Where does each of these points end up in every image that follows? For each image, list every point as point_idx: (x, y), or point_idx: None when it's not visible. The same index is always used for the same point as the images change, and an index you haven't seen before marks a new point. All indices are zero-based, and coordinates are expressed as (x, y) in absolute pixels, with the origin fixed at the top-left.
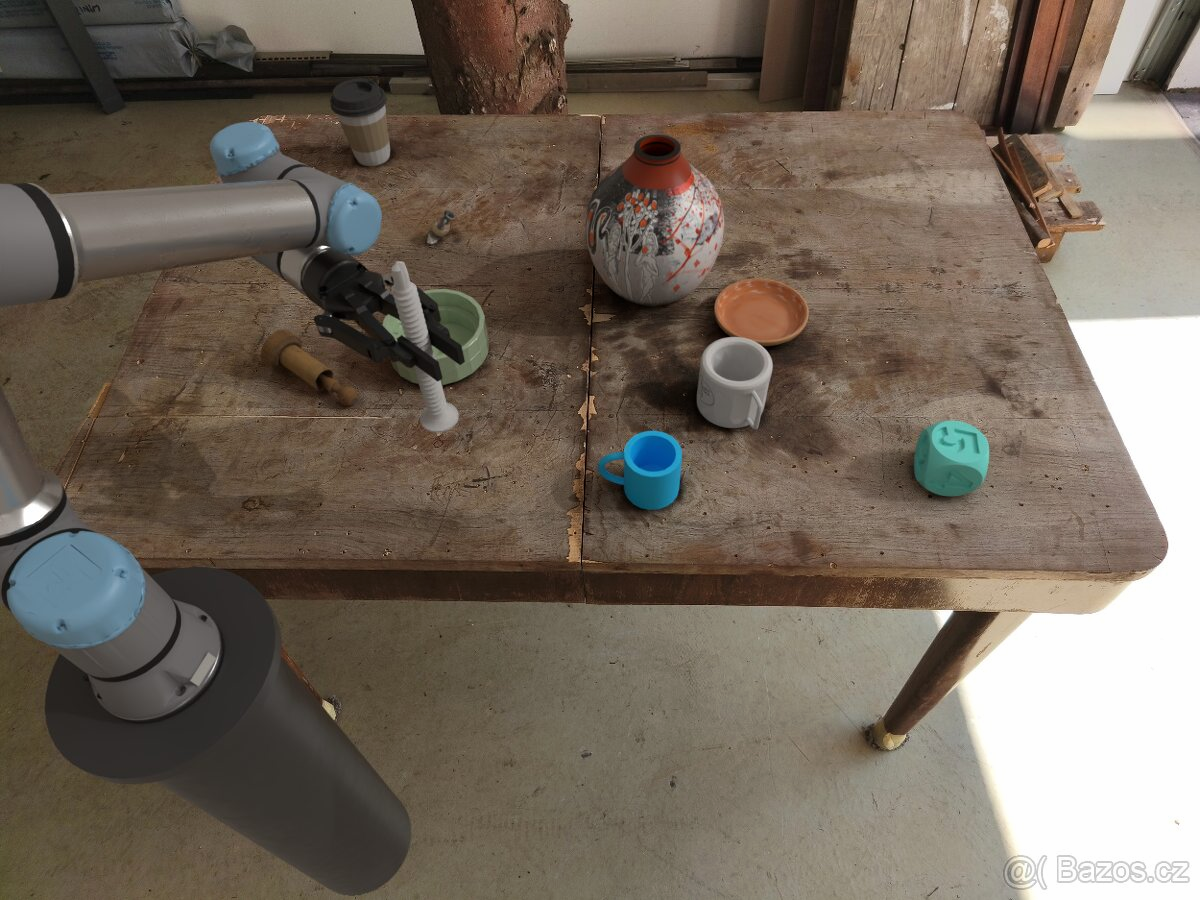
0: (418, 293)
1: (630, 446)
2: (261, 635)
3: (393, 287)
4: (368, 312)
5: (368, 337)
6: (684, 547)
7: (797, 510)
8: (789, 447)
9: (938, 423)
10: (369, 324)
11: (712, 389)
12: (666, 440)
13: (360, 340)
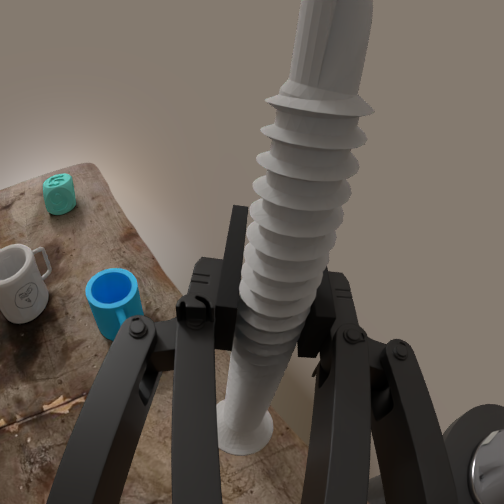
0: (104, 408)
1: (110, 304)
2: (448, 456)
3: (361, 102)
4: (329, 498)
5: (399, 388)
6: (163, 283)
7: (104, 244)
8: (56, 261)
9: (45, 188)
10: (367, 437)
11: (30, 279)
12: (92, 286)
13: (423, 393)
